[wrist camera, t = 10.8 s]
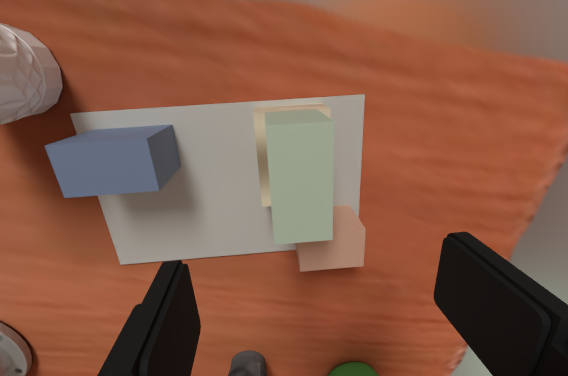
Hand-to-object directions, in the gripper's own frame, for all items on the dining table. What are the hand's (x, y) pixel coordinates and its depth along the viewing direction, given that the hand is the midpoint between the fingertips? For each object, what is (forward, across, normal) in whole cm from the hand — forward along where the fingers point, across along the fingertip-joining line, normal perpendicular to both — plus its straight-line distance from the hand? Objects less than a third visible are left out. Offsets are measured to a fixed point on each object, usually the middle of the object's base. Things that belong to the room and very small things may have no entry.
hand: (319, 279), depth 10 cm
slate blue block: (+18, +13, -2) cm, 23 cm away
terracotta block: (+18, -4, +8) cm, 20 cm away
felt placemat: (+18, +5, +3) cm, 19 cm away
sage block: (+14, -1, 0) cm, 14 cm away
